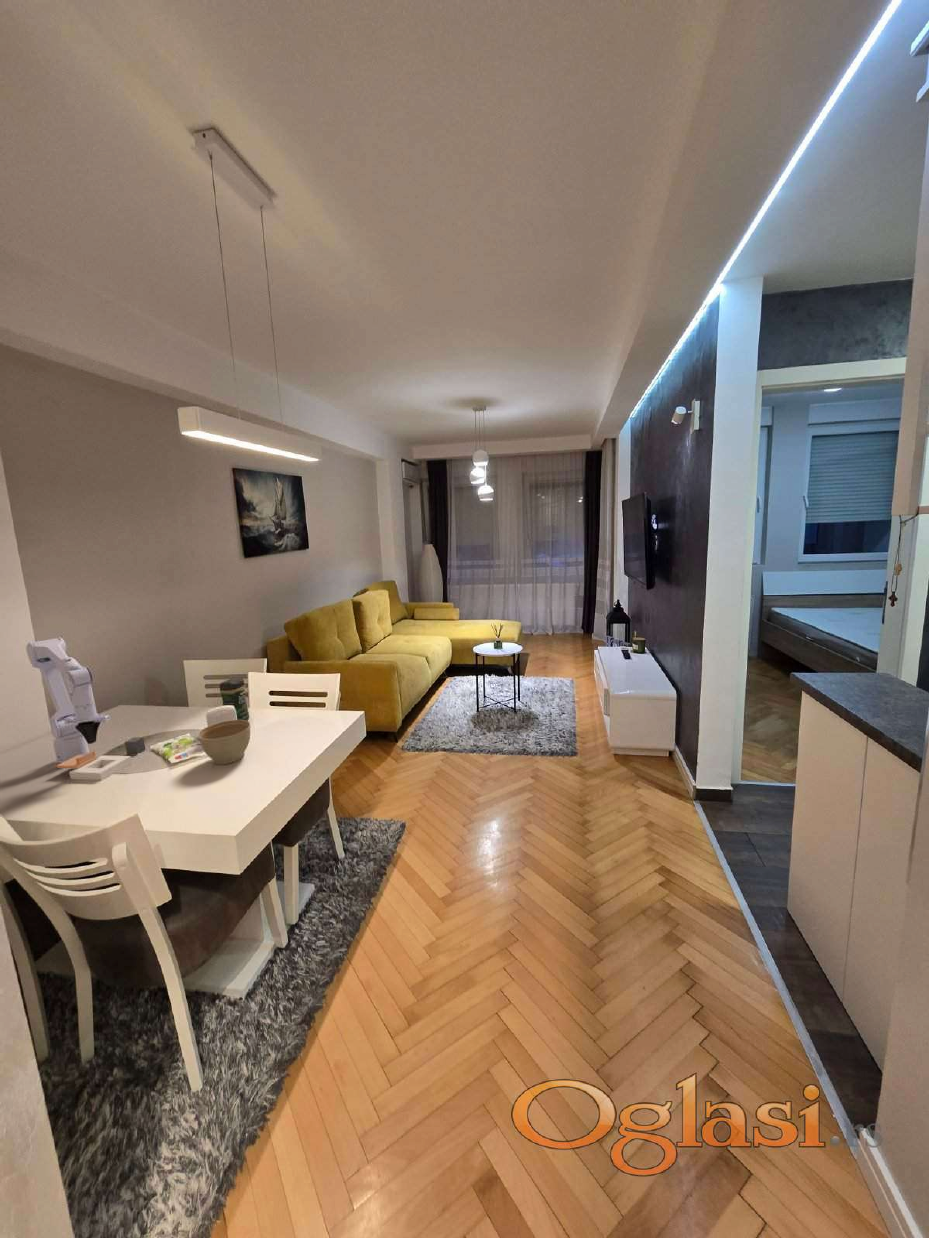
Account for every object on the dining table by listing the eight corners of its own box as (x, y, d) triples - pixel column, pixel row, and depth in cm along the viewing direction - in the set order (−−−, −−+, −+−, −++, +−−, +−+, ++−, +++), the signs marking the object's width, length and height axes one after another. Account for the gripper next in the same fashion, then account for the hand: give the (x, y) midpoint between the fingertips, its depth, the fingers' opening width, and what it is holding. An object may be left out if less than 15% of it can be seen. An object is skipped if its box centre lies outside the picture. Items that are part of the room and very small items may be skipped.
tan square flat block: (57, 767, 166) (55, 759, 166) (79, 756, 174) (77, 749, 173) (77, 768, 165) (75, 760, 164) (98, 757, 172) (97, 749, 172)
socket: (70, 779, 163) (69, 771, 163) (103, 762, 175) (101, 755, 175) (101, 780, 161) (100, 772, 161) (132, 762, 173) (131, 756, 172)
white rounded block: (238, 732, 195) (233, 701, 192) (240, 735, 191) (235, 704, 189) (209, 739, 189) (204, 708, 187) (210, 743, 186) (205, 711, 183)
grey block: (127, 754, 180) (124, 741, 179) (136, 750, 184) (133, 737, 183) (136, 755, 179) (134, 742, 178) (145, 750, 183) (143, 737, 182)
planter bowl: (195, 761, 171) (190, 731, 169) (242, 744, 182) (238, 716, 180) (213, 774, 160) (208, 742, 158) (262, 756, 171) (258, 726, 169)
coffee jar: (239, 726, 200) (232, 682, 197) (221, 726, 201) (214, 682, 198) (253, 717, 210) (246, 675, 206) (236, 717, 211) (229, 675, 208)
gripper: (53, 709, 163) (61, 748, 165) (95, 707, 162) (103, 746, 164) (71, 701, 170) (79, 739, 172) (111, 700, 169) (119, 737, 171)
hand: (92, 742), depth 169 cm, fingers closed
